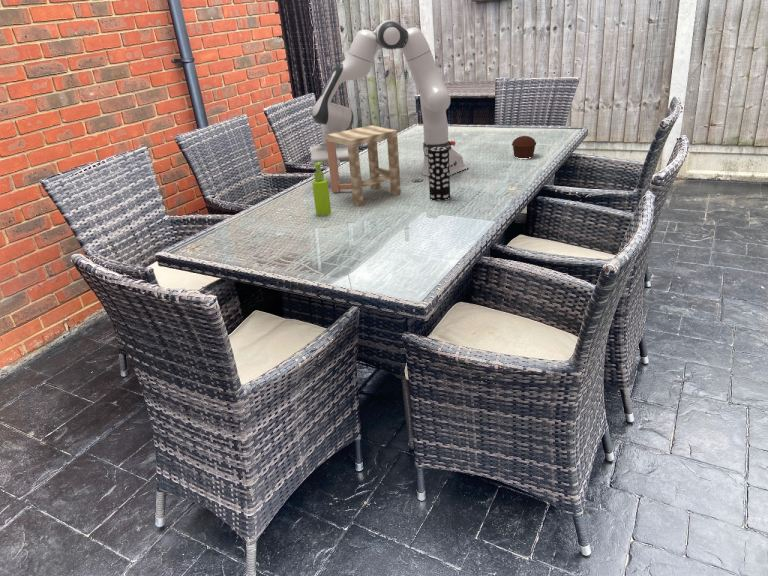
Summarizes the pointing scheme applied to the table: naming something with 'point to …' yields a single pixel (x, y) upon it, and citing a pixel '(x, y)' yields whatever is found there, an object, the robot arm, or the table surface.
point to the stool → (370, 158)
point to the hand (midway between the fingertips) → (334, 170)
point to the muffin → (524, 147)
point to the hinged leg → (334, 168)
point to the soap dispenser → (321, 192)
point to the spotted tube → (439, 173)
